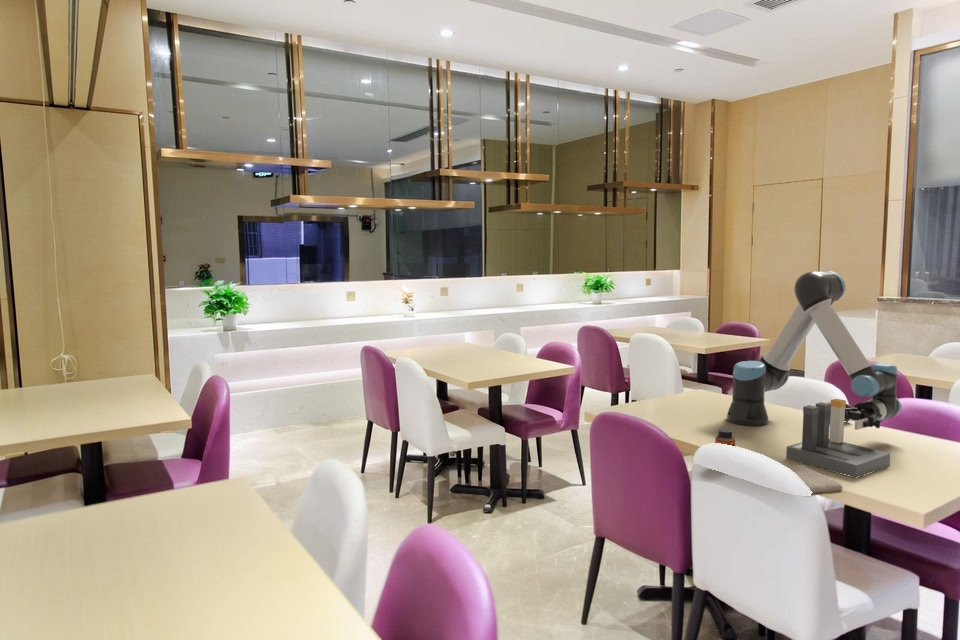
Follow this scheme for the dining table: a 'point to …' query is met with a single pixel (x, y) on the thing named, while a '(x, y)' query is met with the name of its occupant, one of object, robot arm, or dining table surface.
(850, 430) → the dining table surface
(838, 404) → the handle
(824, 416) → the grey peg stand
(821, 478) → the washcloth
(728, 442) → the supplement bottle
